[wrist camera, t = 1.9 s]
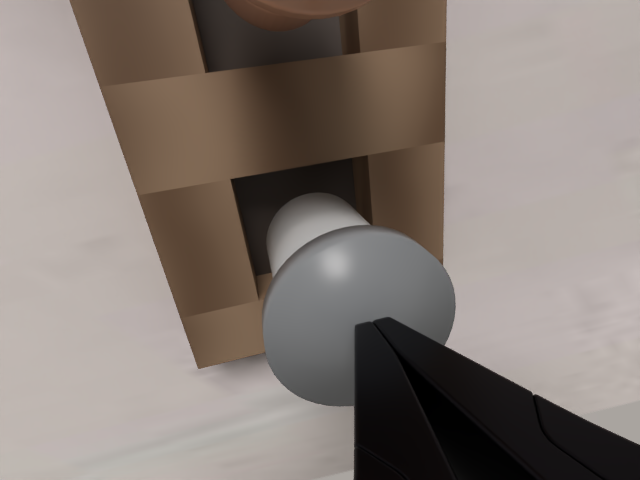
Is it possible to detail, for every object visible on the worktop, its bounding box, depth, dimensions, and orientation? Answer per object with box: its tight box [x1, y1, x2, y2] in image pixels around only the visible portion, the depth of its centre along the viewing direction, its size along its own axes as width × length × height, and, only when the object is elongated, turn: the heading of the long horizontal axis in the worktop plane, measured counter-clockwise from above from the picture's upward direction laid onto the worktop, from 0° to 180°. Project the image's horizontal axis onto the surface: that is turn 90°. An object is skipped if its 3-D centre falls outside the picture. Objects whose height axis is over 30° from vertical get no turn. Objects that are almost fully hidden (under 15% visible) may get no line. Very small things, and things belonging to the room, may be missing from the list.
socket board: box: [70, 0, 447, 369], centre depth 14 cm, size 12×20×2 cm, turn 7°
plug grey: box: [262, 193, 456, 406], centre depth 11 cm, size 5×5×6 cm
